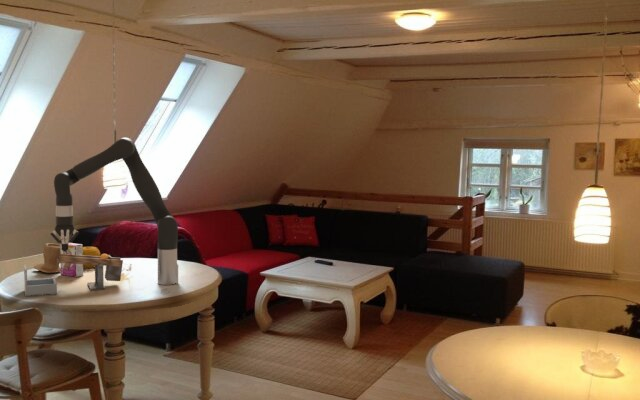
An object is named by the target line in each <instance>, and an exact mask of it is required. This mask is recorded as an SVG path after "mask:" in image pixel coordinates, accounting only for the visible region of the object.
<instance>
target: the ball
mask: <svg viewBox="0 0 640 400" xmlns="http://www.w3.org/2000/svg"><path fill="white" fill-rule="evenodd" d="M108 255H109V254H107V253H102V254H100V259H109V256H108Z"/></svg>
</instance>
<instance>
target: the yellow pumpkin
mask: <svg viewBox="0 0 640 400" xmlns="http://www.w3.org/2000/svg"><path fill="white" fill-rule="evenodd" d="M83 255H85V256H101V251H100V250H99V248H98V247H96V246H83ZM92 268H95V265H86V264H83V269H92Z"/></svg>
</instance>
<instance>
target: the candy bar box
mask: <svg viewBox="0 0 640 400" xmlns="http://www.w3.org/2000/svg"><path fill="white" fill-rule="evenodd" d="M59 245H60V254H69V255H83V247H84V246H83V244H82V243H73V242H70V243H69V244H68V250H67V252H63V251H62V245H61V243H59ZM60 268H61V271H60V275H62V276H67V277H71V278H73V277H74V278H79V277H82V276H84V268H83V264H68V263H60Z"/></svg>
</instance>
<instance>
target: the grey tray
mask: <svg viewBox="0 0 640 400" xmlns="http://www.w3.org/2000/svg"><path fill="white" fill-rule="evenodd" d="M23 279H24V280H23V283H24V285H23V287H24V288H23V290H25V291H24V295H25V296H28V297H32V296H31V295H39V296H43V295H42V294H50V295H58V294H57V293H58V286H57V285H58V283H57V282H56V279H55V277H51V278H39V279H28V269H27V264H23Z"/></svg>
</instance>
